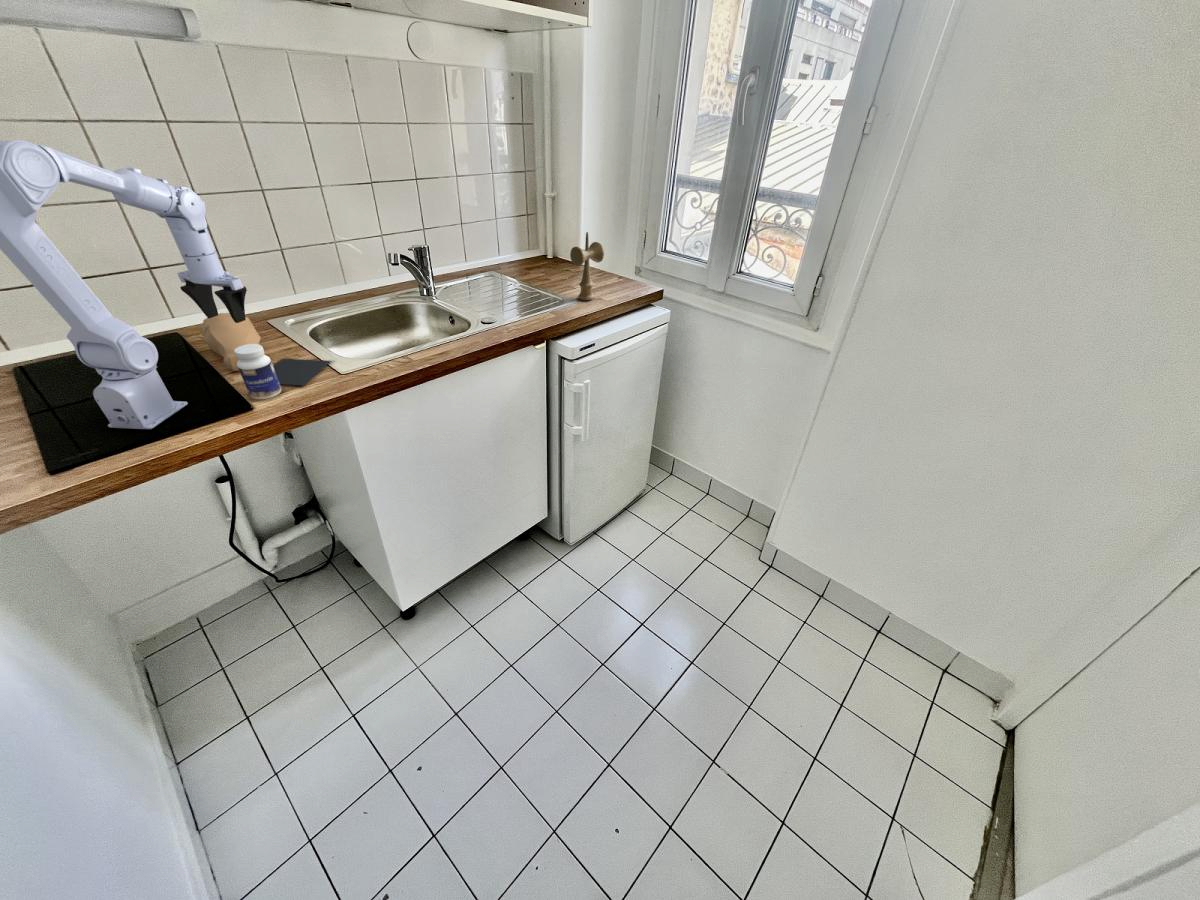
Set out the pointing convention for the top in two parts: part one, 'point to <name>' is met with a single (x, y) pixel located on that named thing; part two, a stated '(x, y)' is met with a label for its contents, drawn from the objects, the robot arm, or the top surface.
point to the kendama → (587, 265)
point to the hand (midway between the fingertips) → (226, 319)
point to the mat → (297, 371)
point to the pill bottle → (257, 371)
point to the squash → (228, 336)
